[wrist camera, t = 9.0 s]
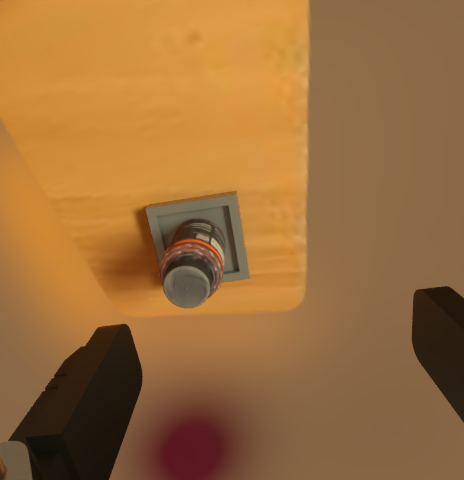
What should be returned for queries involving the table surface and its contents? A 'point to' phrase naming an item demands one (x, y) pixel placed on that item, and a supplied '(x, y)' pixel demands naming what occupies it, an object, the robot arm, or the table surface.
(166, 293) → the supplement bottle
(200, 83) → the table surface
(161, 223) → the gray square tray
